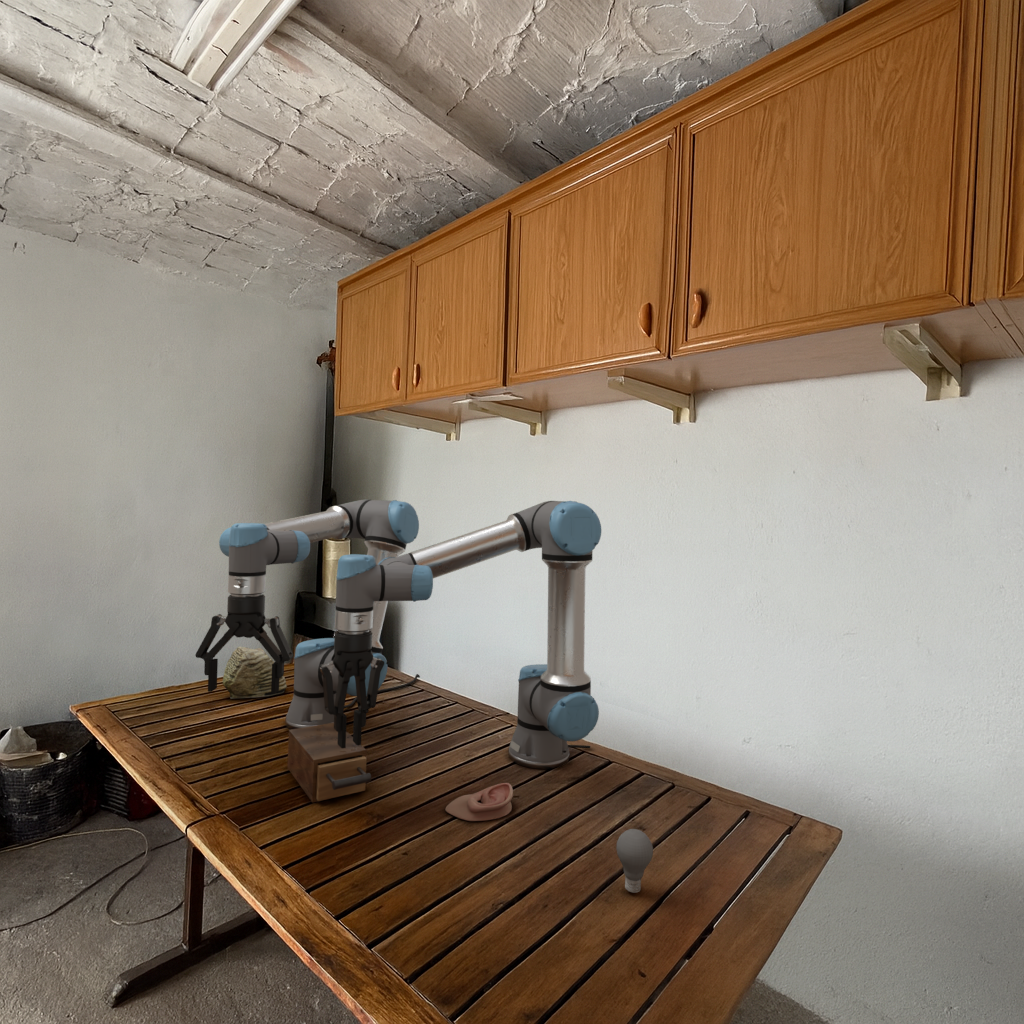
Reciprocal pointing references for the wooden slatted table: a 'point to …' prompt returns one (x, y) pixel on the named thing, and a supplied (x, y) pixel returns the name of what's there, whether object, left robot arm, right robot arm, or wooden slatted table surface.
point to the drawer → (341, 777)
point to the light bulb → (634, 857)
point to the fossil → (250, 674)
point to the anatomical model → (483, 804)
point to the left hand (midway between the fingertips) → (243, 691)
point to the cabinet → (316, 753)
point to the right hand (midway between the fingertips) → (349, 744)
